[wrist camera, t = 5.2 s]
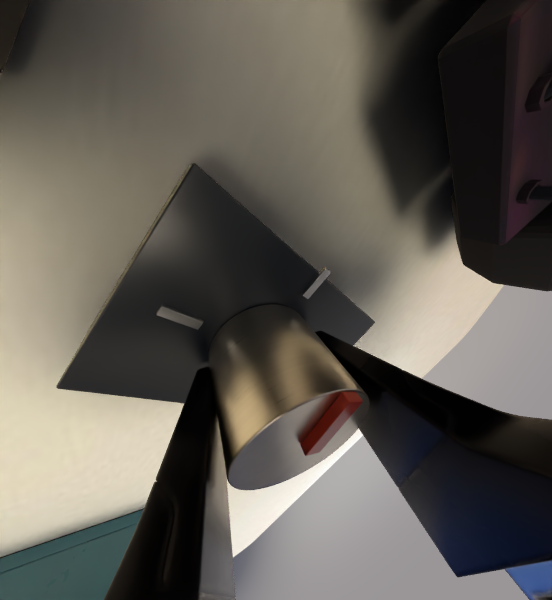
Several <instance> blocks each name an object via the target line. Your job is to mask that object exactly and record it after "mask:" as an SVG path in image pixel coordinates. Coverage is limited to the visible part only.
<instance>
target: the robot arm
mask: <svg viewBox="0 0 552 600" xmlns="http://www.w3.org/2000/svg"><path fill="white" fill-rule="evenodd" d="M29 1H30V0H0V73H2V72H3V70H4V68H5V65H6V62H7V60H8V57H9V54H10V52H11V49H12V46H13V44H14V41H15V38H16V36H17V33H18V30H19V28H20V25H21V22H22V20H23V17H24V14H25V12H26V9H27V6H28V4H29ZM315 333H316V335H317V336H318V337H319V338H320V339H321V340H322V342H323V343H324V344H325V345H326V346H327V348H328V349H329V350H330V351H331V352H332V354H333V355H334V356H335V357H336V358H337V360H338V361H339V362H340V363H341V364H342V366H343V367H344V368H345V369H346V370H347V371H348V373H349V374H350V375H351V376H352V377H353V379H354V380H355V381H356V382H357V383H358V385H359V386H360V387H361V388H362V389H363V391H364V392H365V393H366V394H367V396H368V398H369V403H370V405H369V410H368V413H367V415H366V417H365V419H364V420H363V422H362V424H361V425H360V426H359V429H360V431H361V432H362V434H363V435H364V437H365V438H366V440H367V441H368V443H369V445H370V446H371V447H372V449H373V450H374V452H375V454H376V455H377V457H378V458H379V460H380V461H381V463H382V464H383V466H384V467H385V469H386V470H387V472H388V473H389V475H390V476H391V478H392V479H393V481H394V482H395V484H396V485H397V487H399V490H400V492H401V493H402V495H403V496H404V498H405V499H406V501H407V502H408V504H409V505H410V507H411V508H412V510H413V512H414V513H415V515H416V516H417V518H418V519H419V521H420V522H421V524H422V525H423V527H424V528H425V530H426V531H427V533H428V534H429V536H430V537H431V539H432V540H433V542H434V543H435V545H436V547H437V548H438V549H439V551H440V553H441V554H442V556H443V557H444V558H445V560H446V562H447V563H448V565H449V566H450V568H451V569H452V571H453V572H454V573H455V575H456V576H457V577H462V576H468V575H474V574H479V573H485V572H490V571H496V570H502V569H505V570H506V572H507V573H508V574H509V575H510V577H511V578H512V579H513V580H514V581H515V583H516V584H517V585H518V586H519V587H520V589H521V590H522V591H523V592H524V593H525V595H526V596H527V597H528V599H529V600H552V420H549V419H541V418H531V417H523V416H518V415H513V414H509V413H505V412H502V411H499V410H496V409H493V408H490V407H488V406H486V405H483V404H481V403H478V402H476V401H473V400H471V399H468V398H466V397H463V396H461V395H459V394H456V393H453V392H451V391H449V390H446V389H444V388H442V387H439V386H437V385H435V384H432V383H430V382H427V381H425V380H423V379H421V378H419V377H417V376H415V375H413V374H410V373H408V372H406V371H404V370H403V371H402V369H400V368H398V367H396V366H394V365H392V364H390V363H388V362H386V361H383V360H381V359H379V358H377V357H375V356H373V355H371V354H369V353H367V352H365V351H363V350H361V349H359V348H357V347H354V346H352V345H350V344H348V343H346V342H344V341H342V340H340V339H338V338H336V337H334V336H332V335H330V334H328V333H325V332H323V331H316V332H315ZM156 481H157V482H154V484H153V487H152V490H151V492H150V495H149V497H148V500H147V503H146V505H145V508H144V510H143V512H142V515H141V517H140V520H139V522H138V525H137V527H136V530H135V532H134V534H133V536H132V539H131V541H130V543H129V545H128V547H127V550H126V552H125V554H124V556H123V559H122V561H121V563H120V565H119V567H118V570H117V572H116V574H115V576H114V578H113V580H112V582H111V585H110V587H109V589H108V591H107V593H106V595H105V597H104V600H236V599H235V583H234V570H233V557H232V544H231V530H230V517H229V504H228V491H227V478H226V468H225V462H224V455H223V449H222V442H221V436H220V430H219V423H218V417H217V410H216V404H215V397H214V391H213V384H212V378H211V372H210V368H209V367H208V366H207V367H203V368H200V369H198V370H197V372H196V375H195V377H194V380H193V383H192V385H191V388H190V390H189V393H188V396H187V398H186V401H185V404H184V406H183V409H182V411H181V414H180V417H179V419H178V422H177V425H176V427H175V430H174V432H173V435H172V438H171V440H170V443H169V445H168V448H167V451H166V453H165V456H164V459H163V461H162V464H161V466H160V469H159V472H158V474H157V477H156Z"/></svg>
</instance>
